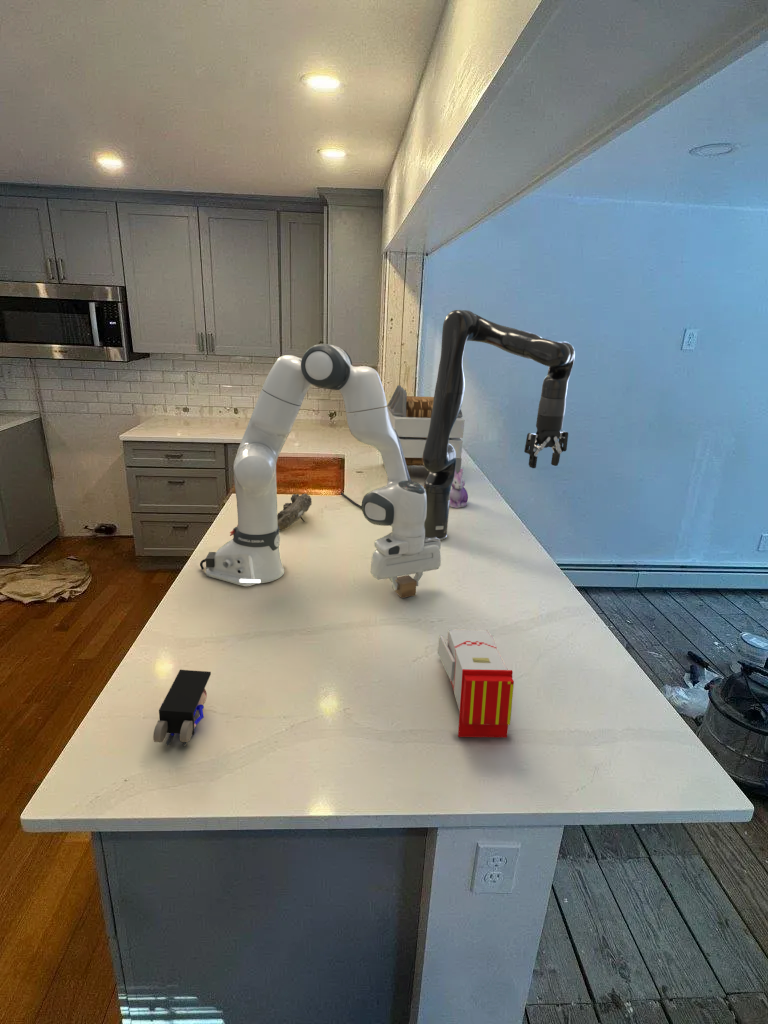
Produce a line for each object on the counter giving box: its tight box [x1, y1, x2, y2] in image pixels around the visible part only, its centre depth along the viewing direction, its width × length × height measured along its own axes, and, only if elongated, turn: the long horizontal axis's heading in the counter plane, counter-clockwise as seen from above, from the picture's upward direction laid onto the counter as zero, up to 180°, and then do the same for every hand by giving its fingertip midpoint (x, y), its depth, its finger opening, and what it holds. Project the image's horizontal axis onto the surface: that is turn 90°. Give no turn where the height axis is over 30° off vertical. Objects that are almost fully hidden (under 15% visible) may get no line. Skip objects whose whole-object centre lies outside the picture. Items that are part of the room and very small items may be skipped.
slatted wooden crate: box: [382, 384, 465, 473], centre depth 268 cm, size 34×33×41 cm
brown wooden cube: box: [393, 574, 417, 599], centre depth 157 cm, size 4×4×4 cm
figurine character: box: [152, 669, 212, 747], centre depth 104 cm, size 7×8×15 cm
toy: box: [437, 628, 515, 738], centre depth 117 cm, size 12×13×30 cm
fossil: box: [277, 493, 313, 531], centre depth 205 cm, size 22×10×15 cm
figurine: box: [449, 468, 469, 509], centre depth 230 cm, size 9×10×15 cm
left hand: (405, 587), depth 157 cm, fingers closed on brown wooden cube, 4 cm apart
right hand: (543, 466), depth 171 cm, fingers open, 8 cm apart
